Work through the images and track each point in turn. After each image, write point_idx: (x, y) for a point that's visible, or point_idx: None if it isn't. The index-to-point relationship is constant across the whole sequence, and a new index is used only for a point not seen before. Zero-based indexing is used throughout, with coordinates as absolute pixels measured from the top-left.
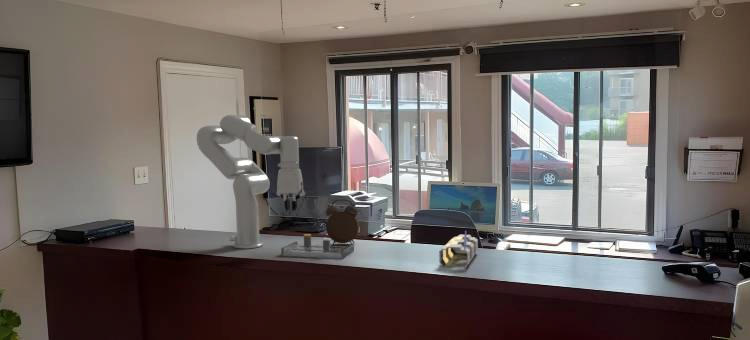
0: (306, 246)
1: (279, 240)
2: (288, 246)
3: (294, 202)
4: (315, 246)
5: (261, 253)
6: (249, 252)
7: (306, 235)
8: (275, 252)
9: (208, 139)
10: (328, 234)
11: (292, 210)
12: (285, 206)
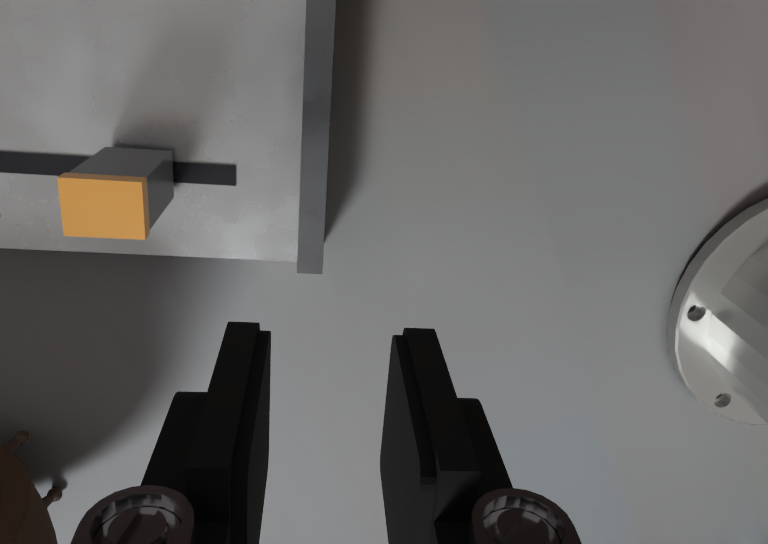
0: None
1: None
2: (305, 23)
3: (178, 487)
4: (49, 170)
5: (596, 3)
6: (729, 39)
7: (101, 179)
8: (466, 69)
9: None
10: (21, 481)
11: (256, 324)
12: (448, 375)
